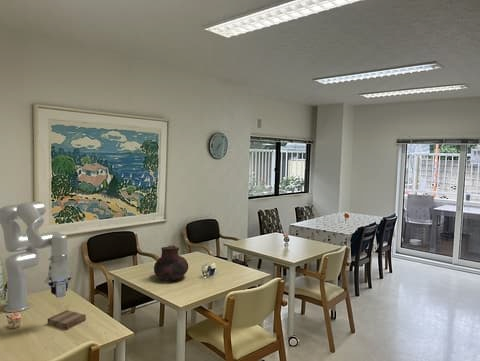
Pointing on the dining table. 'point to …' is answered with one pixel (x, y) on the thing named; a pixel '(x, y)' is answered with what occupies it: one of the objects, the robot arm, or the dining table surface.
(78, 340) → the dining table surface
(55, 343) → the dining table surface
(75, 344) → the dining table surface
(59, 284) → the medicine box
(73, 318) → the walnut stand
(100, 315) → the dining table surface
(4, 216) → the robot arm
